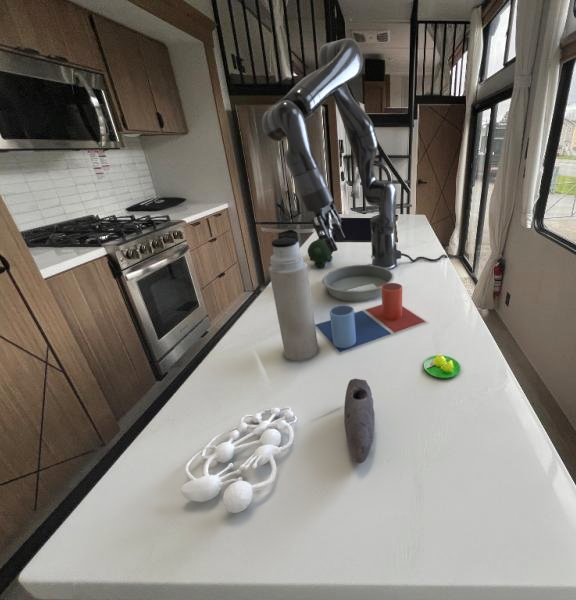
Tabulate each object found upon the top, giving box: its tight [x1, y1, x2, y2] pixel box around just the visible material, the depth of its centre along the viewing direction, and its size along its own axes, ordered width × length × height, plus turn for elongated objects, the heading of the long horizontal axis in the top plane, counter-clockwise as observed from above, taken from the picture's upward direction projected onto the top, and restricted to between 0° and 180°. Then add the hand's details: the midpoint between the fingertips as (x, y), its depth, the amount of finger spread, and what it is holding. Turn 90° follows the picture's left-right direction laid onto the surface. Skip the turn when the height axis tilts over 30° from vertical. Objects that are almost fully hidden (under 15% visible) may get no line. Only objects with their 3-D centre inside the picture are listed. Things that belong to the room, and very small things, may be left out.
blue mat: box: [315, 310, 392, 353], centre depth 88 cm, size 15×16×1 cm
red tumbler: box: [381, 282, 403, 320], centre depth 93 cm, size 6×6×9 cm
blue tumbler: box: [329, 304, 356, 348], centre depth 80 cm, size 6×6×9 cm
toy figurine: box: [307, 231, 334, 269], centre depth 136 cm, size 9×19×25 cm
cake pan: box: [322, 264, 395, 302], centre depth 112 cm, size 25×25×4 cm
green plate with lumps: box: [423, 354, 461, 379], centre depth 72 cm, size 8×8×3 cm
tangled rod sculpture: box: [180, 406, 298, 514], centre depth 52 cm, size 19×14×4 cm
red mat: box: [365, 304, 426, 333], centre depth 94 cm, size 10×16×1 cm, turn 32°
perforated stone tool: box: [343, 378, 375, 465], centre depth 55 cm, size 15×5×7 cm, turn 3°
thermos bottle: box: [268, 238, 319, 361], centre depth 73 cm, size 8×8×28 cm
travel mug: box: [277, 229, 301, 253], centre depth 111 cm, size 6×7×20 cm
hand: (338, 245), depth 92 cm, fingers open, 8 cm apart
